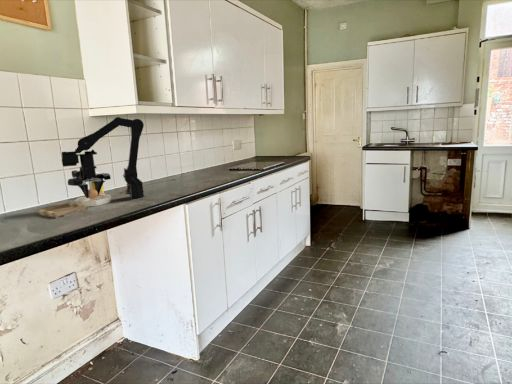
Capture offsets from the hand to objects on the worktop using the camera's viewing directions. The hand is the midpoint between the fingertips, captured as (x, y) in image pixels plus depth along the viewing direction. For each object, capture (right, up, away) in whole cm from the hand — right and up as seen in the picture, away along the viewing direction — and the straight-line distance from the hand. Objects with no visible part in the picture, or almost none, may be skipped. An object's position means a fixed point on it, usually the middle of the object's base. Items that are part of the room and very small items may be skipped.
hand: (92, 196), depth 168 cm
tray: (-7, -7, -13) cm, 16 cm away
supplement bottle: (-6, 0, +19) cm, 20 cm away
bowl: (0, -3, +1) cm, 4 cm away
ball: (0, -1, 0) cm, 1 cm away
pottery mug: (+12, +2, +25) cm, 28 cm away
